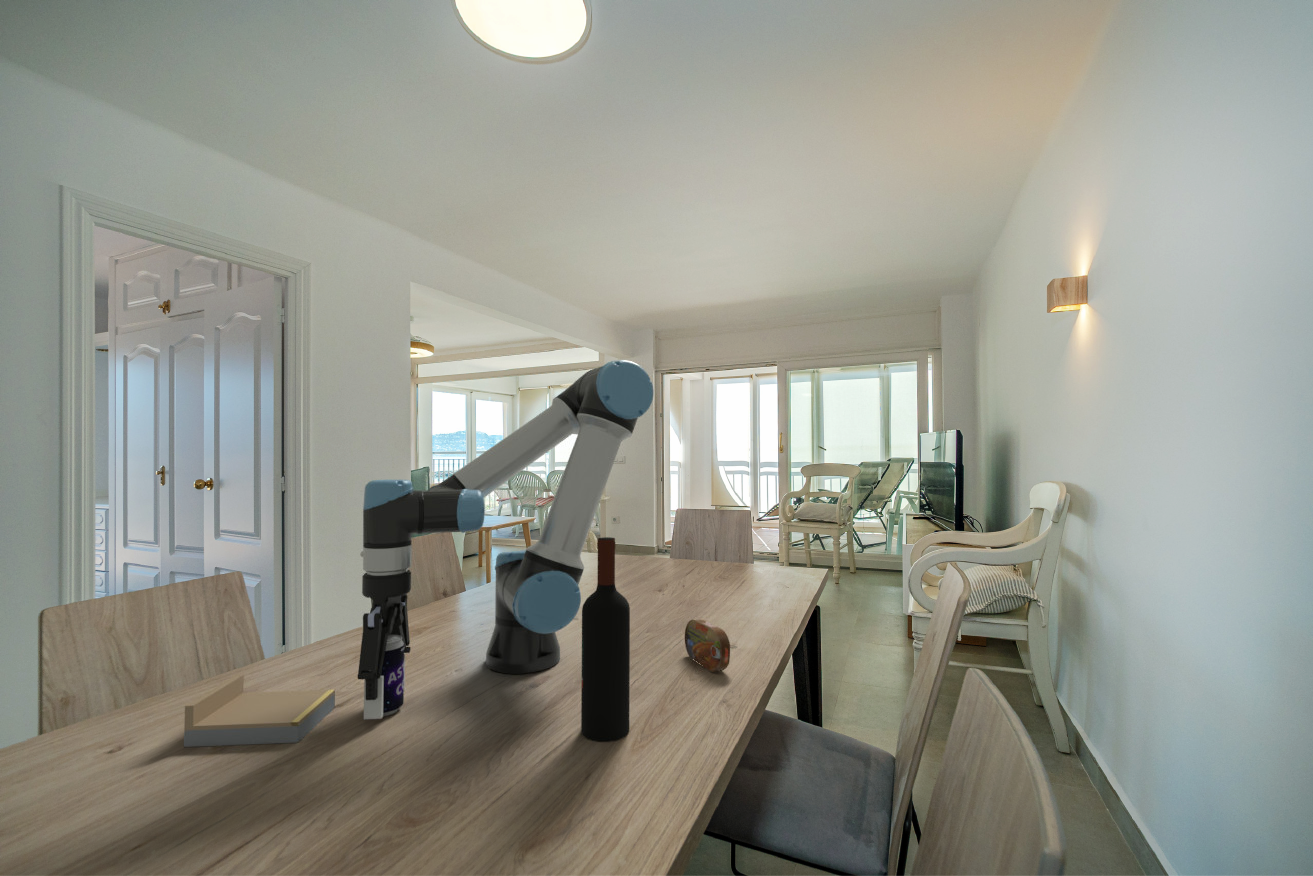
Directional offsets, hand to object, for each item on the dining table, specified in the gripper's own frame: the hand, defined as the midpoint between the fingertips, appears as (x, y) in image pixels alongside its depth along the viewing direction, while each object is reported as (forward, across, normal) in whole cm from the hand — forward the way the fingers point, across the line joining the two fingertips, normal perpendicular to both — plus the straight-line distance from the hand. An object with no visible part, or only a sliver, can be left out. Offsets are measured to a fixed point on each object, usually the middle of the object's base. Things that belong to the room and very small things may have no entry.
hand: (385, 704), depth 98 cm
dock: (+1, +4, -17) cm, 17 cm away
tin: (+1, -17, +58) cm, 60 cm away
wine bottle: (+1, +10, +37) cm, 38 cm away
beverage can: (+1, 0, 0) cm, 1 cm away
